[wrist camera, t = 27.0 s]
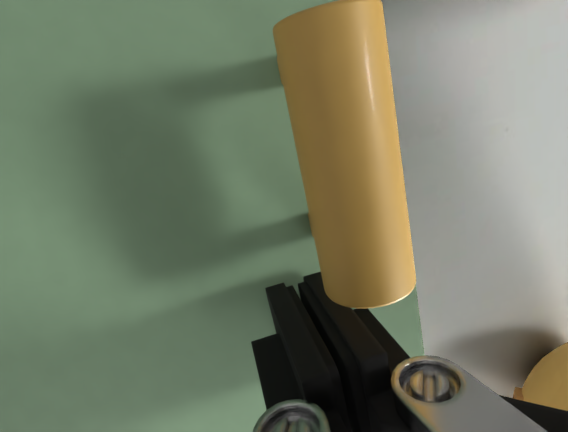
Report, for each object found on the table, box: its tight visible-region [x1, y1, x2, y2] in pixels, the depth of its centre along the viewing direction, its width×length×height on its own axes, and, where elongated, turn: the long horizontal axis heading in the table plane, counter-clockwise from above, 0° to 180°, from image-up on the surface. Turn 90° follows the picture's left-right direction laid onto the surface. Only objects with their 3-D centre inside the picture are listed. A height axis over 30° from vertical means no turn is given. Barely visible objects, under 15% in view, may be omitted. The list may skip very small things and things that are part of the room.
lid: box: [0, 0, 424, 432], centre depth 8 cm, size 15×17×5 cm
